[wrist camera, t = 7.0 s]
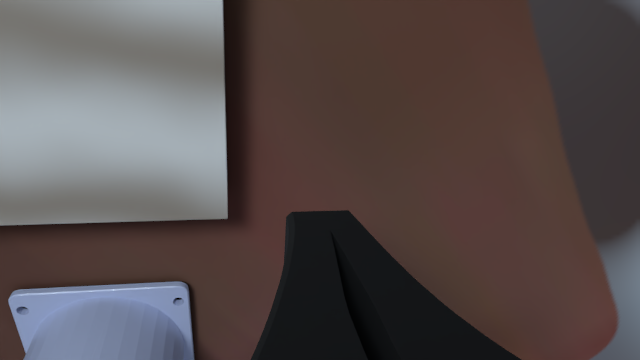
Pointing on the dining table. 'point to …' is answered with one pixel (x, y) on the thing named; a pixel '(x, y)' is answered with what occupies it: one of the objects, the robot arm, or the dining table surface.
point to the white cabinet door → (112, 111)
